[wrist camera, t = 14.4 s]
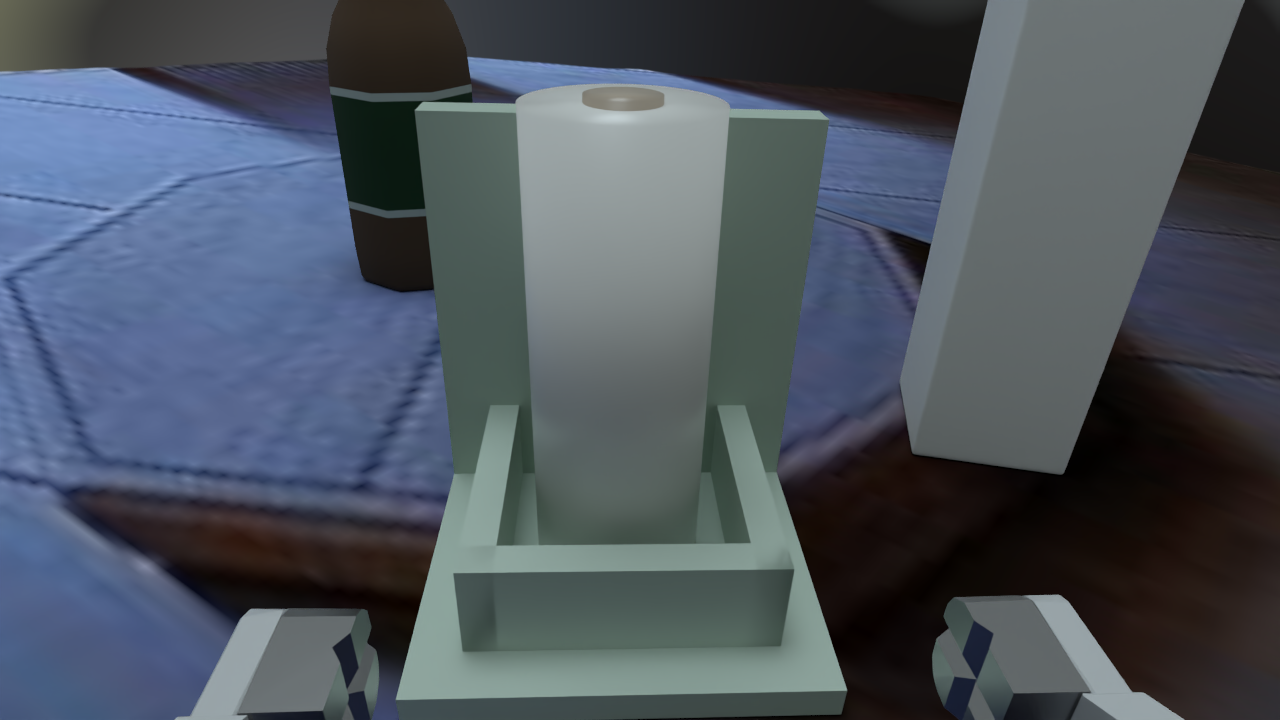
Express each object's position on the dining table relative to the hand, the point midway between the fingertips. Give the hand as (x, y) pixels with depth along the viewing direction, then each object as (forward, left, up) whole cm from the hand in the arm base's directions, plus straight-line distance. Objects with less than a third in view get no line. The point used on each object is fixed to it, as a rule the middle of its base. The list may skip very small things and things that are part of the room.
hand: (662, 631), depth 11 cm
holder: (-5, +11, -10) cm, 16 cm away
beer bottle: (-26, +29, -10) cm, 40 cm away
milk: (+6, +25, -10) cm, 27 cm away
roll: (-5, +11, -9) cm, 15 cm away
